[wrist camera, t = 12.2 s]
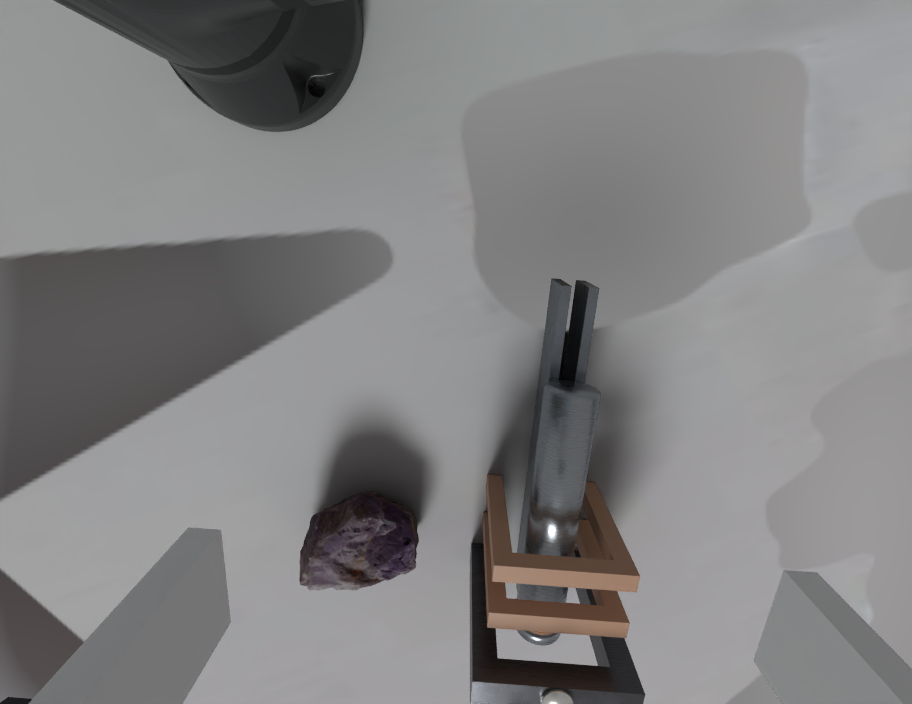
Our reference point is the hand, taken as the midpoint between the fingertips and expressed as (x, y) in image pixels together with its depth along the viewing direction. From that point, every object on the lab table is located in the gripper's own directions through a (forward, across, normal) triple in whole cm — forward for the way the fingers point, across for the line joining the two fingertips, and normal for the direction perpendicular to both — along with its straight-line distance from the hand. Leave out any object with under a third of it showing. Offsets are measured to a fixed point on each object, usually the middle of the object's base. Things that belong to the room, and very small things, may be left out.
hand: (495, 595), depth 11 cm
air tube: (+27, +8, -16) cm, 33 cm away
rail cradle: (+32, +8, -12) cm, 35 cm away
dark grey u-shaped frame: (+31, +8, -26) cm, 42 cm away
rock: (+32, -10, -22) cm, 40 cm away
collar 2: (+32, +8, -22) cm, 39 cm away
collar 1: (+32, +8, -17) cm, 37 cm away
